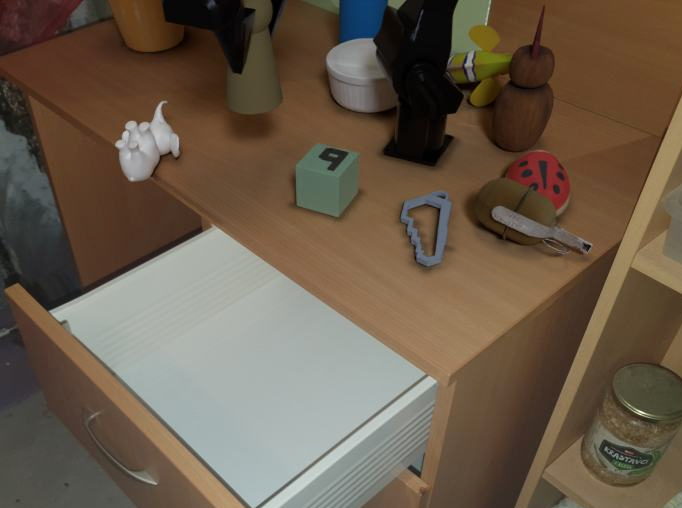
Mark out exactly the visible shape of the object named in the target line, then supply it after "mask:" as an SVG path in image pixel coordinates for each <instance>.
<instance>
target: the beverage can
mask: <svg viewBox="0 0 682 508" xmlns="http://www.w3.org/2000/svg"><path fill="white" fill-rule="evenodd" d="M338 3H339V4H338V45H339V44H342V43H344V42H347V41H350V40H354V39H361V38H375V36H376V35H377V34H378V32H379V30H380V28H381V24H382V20H383V14H384V10H385V8H386V6H388V5H389V0H338Z"/></svg>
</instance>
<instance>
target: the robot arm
mask: <svg viewBox="0 0 682 508" xmlns="http://www.w3.org/2000/svg"><path fill="white" fill-rule="evenodd" d="M288 2H289V0H271V3H272V7H273V14H272V19H271V22H270V24H269V25H268V27H269V32H270V37H271V42H273V39H274V36H275V33H276V31H277V29H278V26H279V23H280V22H281V21H280V20H281V19H282V16H283V13H284V11H285V8H286V6H287V4H288ZM161 3H162V9H163V16H164V20H165V22H170V23H175V24H180V25H184V27H191V28H196V29H201V30H206V31H211V32H212V33H213V34H214V36H215V38H216V40H217V42H218V44H219V46H220V48H221V51H222V54H223V55H224V57H225V60H226V63H227V62H228V64H229V66H230V68H231V70H232V72H233V73H235V74H240V75H241V74H242V72H243V69H244V66H245V64H246V61H247V55H248V50H249V45H250V39H251V34H252V28H253V24H254V18H255V13H256V9H253V8H247V7H245V6H244V0H161ZM458 3H459V0H405V1H404V2H403V3H402V4H401V5H400V6H399V7H398V8H395V7H394V6H391V5H389V4H388V6H386V8H385V10H384V14H383V20H382V24H381V28H380V30H379V32H378V34H377V35H376V36H375V38H374V39H373V42H374V44H375V45H376V47H377V48H376V60H377V63H378V65H379V67H380V69H381V70H382V72H383V73H384V75H385V77H386V78H387V80H388V81H389V83H390V84H391V86H392V88H393V89H394V91H395V92H396V93H397V94H398V102H397V106H396V115H395V127H394V128H395V129H394V135H393V136H392V137H391V139H390V140H389V141H388V143H386V145H385V146H384V148H383V151H382V153H383V154H384V155H386V156H390V157H394V158H397V159H403V160H406V161H411V162H414V163H419V164H423V165H426V166H430V167H431V166H432V167H435V166H437V165H438V164H439V162H440V161H441V159H442V158H443V157H444V155H445V153H446V152H447V151H448V150H449V148H450V146H451V145H452V144H453V143H454V141H455V140H454V139H455V137H454V136H453V135H451V134H447V133H446V129H447V122H448V115H453V114H456V113H457V112H458V111H459V108H460V107H461V105H462V103H463V100H464V98H465V94H464V93H463V92H462V90H461V89H460V88H459V87H458V84H457V83H454V82H453V80H452V79H451V78H450V76H449V75H448V74H447V72H446V69H447V65H448V61H449V57H451V53H452V48H453V24H454V15H455V10H456V8H457V5H458Z"/></svg>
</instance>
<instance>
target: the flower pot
mask: <svg viewBox="0 0 682 508" xmlns="http://www.w3.org/2000/svg"><path fill="white" fill-rule="evenodd" d="M106 2H107V4H108V7H109V9H110V12H111V14H112V17H113V19H114V22H115V23H116V26H117V28H118V30H119V33H120V35H121V37H122V39H123V41H124V42H123V43H124V44H125V45H126V47H127V48H129V49H132V50H133V51H136V52H140V53H154V52H155V53H156V52H163V51H166V50H169V49H173V48H174V47H176V46H178V45H179V44H180V43H181V42H182V41H183V40H184V36H185V25H180V24H175V23H170V22H165V20H164V16H163V9H162V3H161V0H106Z"/></svg>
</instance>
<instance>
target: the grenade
mask: <svg viewBox="0 0 682 508" xmlns="http://www.w3.org/2000/svg"><path fill="white" fill-rule="evenodd" d="M474 212H475V214H476V216H477V218H478V220H479V222H480V223H481V224H482V225H483V226H484V227H485V228H488V229H489V230H490V231H493V232H495V233H497V234H499V235H501V236H502V239H503V240H506V239H509V240H511V241H514V242H515V243H518V244H520V245H524V246H534V245H538V244H540V243H541V242H543V243H544V244H545V245H546V246H547V247H548V248H550V249H553V250H555V251H556V253H557V254H561V255H564V256H565V255H568V254H569V253H570V251H571V249H573V248H574V249H576V250H578V251H580V252H582V253H583V254H587V255H588V254H589V252H590V251H591V249H592V247H593V243H591V242H589V241H587V240H585V239H583V238H581V237H579V236H577V235H575V234H573V233H571V232H569V231H567V230H566V229H565V228H562V227H560V226H557V225H558V222H557V220H556V218H557V216H556V214H557V213H556V209H555V207H554V205H553V203H552V202H551V201H550V199H549V198H547V197H545V196H543V195H542V194H540V193H538V192H536V191H534V190H533V186H532V187H530V188H528V187H526V186H524V185H522V184H520V183H518V182H516V181H513V180H511V179H506V178H505V177H500V178H495V179H491V180H489V181H488V182H487V183H485V184H483V185H482V187H481V188H480V189H479V191H478V192H477V194H476V196H475V199H474ZM546 241H548V242H549V241H550V242H551V243H554V244H556V245H558V246H560V247H562V248H563V250H562V249H558V248H557V247H554V246H553V245H550V244H549V243H548V242H546ZM566 246H567V247H569V249H568V248H567V247H566Z"/></svg>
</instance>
